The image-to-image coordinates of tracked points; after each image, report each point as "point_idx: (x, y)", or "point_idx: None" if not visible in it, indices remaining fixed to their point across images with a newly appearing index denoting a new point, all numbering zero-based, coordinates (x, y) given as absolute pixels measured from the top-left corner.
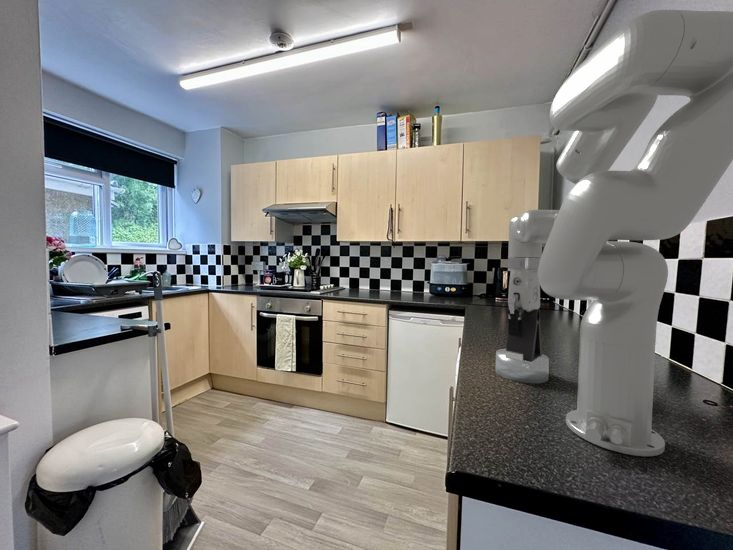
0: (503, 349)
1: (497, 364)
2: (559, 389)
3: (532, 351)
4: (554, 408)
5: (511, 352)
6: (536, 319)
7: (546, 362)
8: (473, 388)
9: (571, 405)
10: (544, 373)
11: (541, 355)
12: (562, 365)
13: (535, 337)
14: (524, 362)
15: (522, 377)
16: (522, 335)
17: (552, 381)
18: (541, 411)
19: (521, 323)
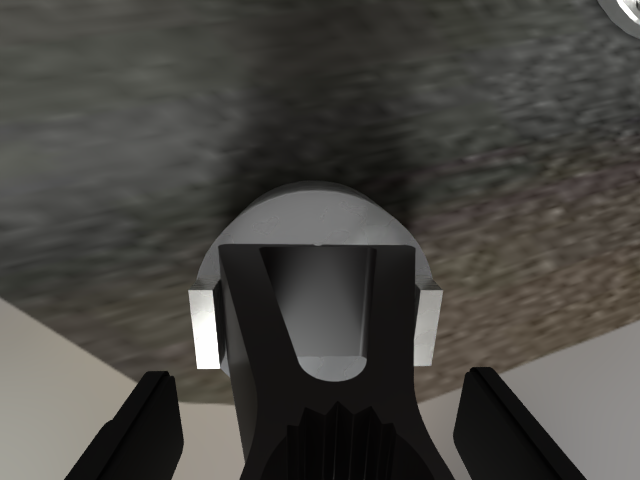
0: None
1: None
2: (381, 122)
3: (414, 263)
4: (580, 98)
5: (434, 340)
6: (426, 435)
7: (340, 193)
8: (550, 328)
9: (521, 55)
10: (348, 189)
11: (244, 241)
12: (29, 180)
13: (385, 301)
14: (427, 266)
15: None
16: (488, 369)
17: (305, 163)
18: (625, 125)
19: (569, 474)
